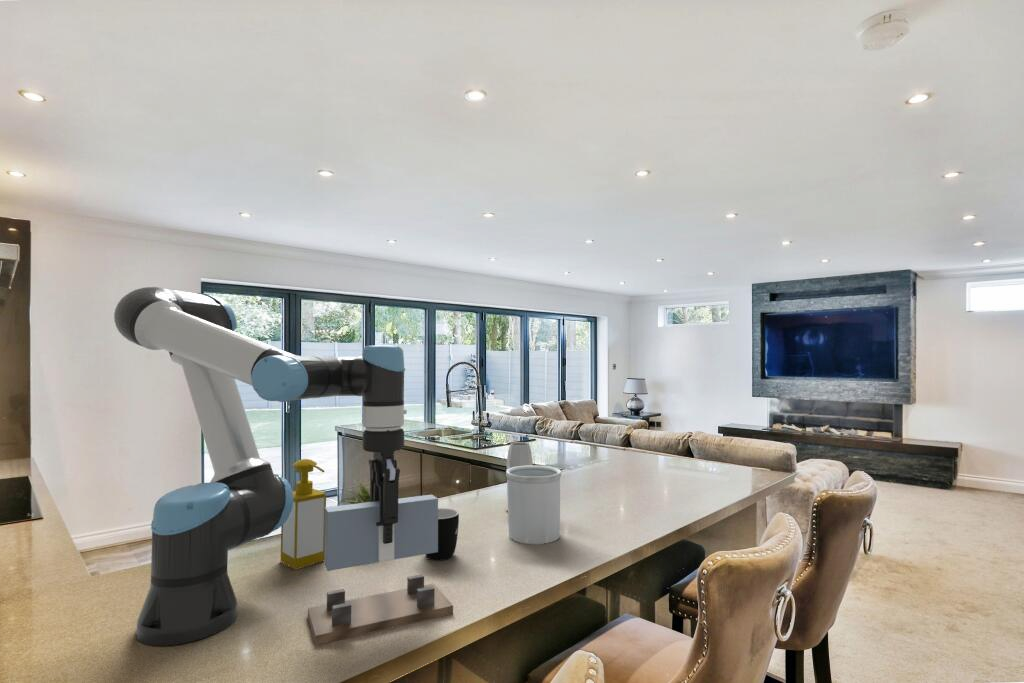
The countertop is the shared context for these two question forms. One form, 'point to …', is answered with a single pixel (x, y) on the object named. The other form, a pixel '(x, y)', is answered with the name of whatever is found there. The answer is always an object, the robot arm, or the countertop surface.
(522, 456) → the wineglass
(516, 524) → the utensil holder
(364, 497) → the house plant
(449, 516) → the mug
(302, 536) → the soap bottle
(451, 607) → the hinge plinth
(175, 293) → the robot arm
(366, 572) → the countertop surface
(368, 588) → the countertop surface
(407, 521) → the door panel
